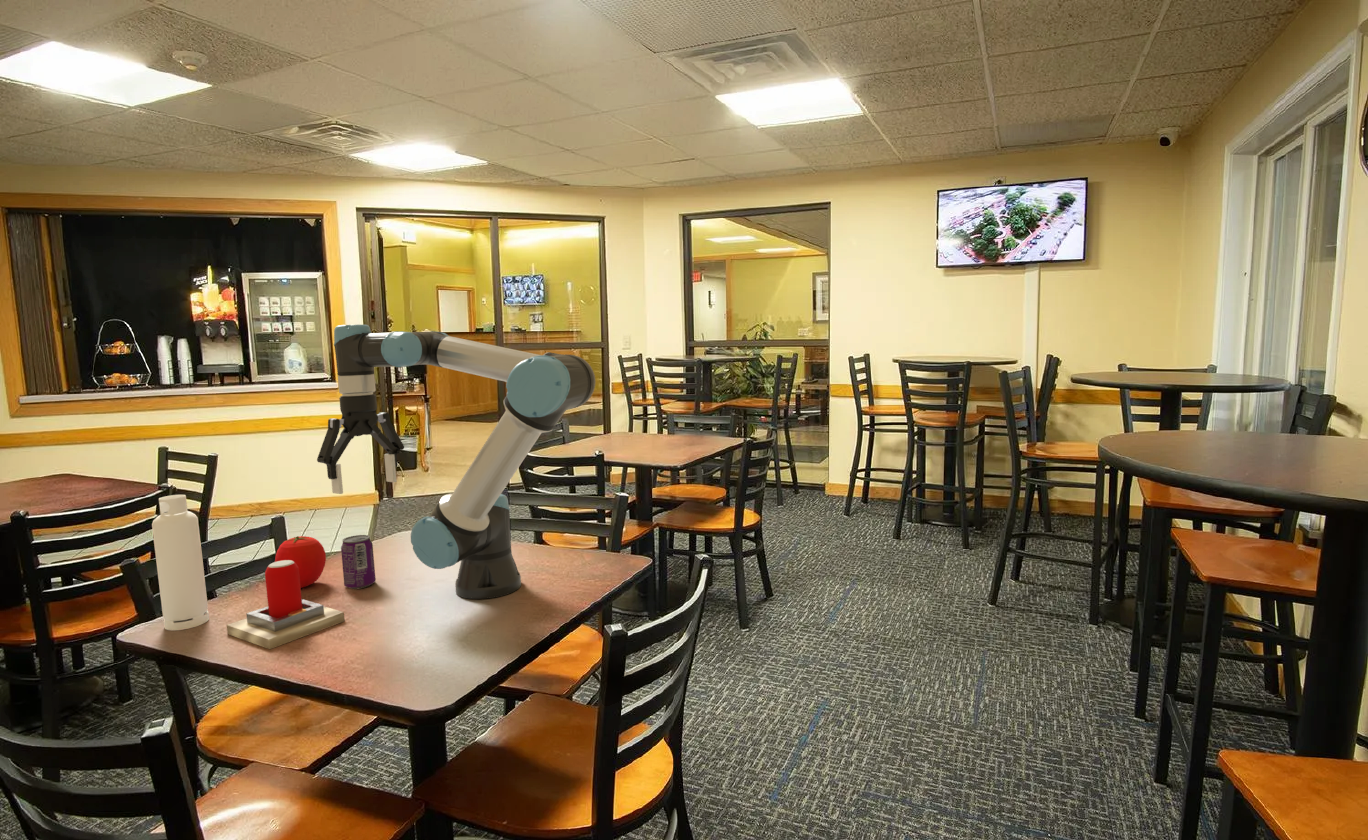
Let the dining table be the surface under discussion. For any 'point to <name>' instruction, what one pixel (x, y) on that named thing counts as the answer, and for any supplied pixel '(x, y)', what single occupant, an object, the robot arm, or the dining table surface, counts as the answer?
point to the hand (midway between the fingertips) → (365, 487)
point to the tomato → (304, 557)
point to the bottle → (179, 564)
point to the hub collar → (293, 618)
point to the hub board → (285, 635)
